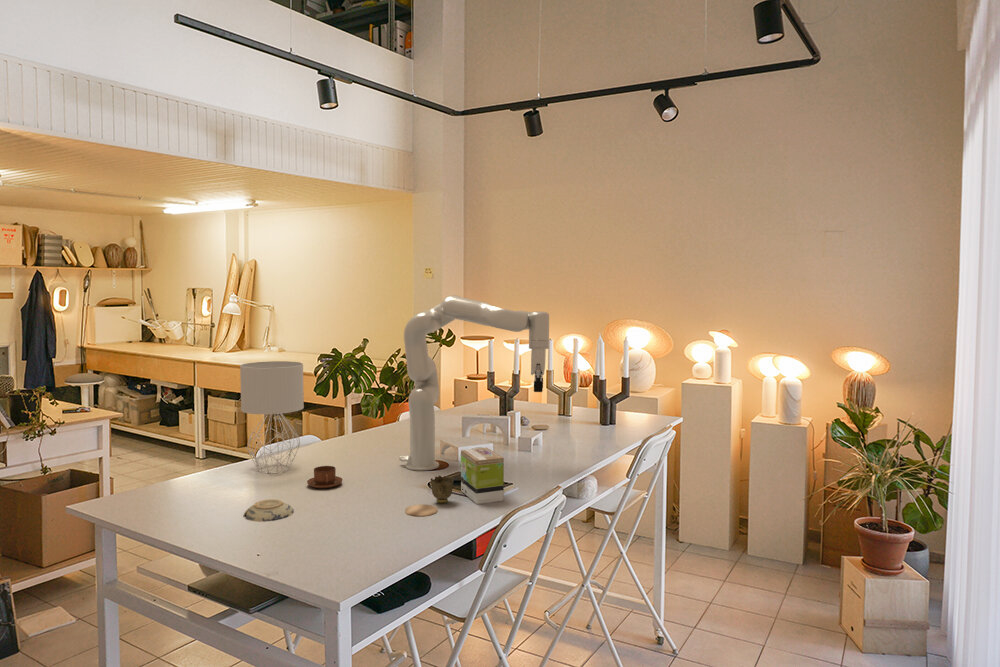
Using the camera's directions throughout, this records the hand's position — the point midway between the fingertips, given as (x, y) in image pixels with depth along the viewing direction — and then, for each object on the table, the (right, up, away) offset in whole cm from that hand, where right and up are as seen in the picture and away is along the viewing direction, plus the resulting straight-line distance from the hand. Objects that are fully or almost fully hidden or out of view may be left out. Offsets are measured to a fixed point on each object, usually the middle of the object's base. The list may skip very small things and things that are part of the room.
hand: (538, 389), depth 264 cm
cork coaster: (-39, -34, -46) cm, 69 cm away
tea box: (-20, -33, -30) cm, 49 cm away
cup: (-33, -34, -37) cm, 60 cm away
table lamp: (-100, -31, +2) cm, 105 cm away
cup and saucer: (-76, -32, -18) cm, 84 cm away
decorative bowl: (-85, -35, -49) cm, 104 cm away
